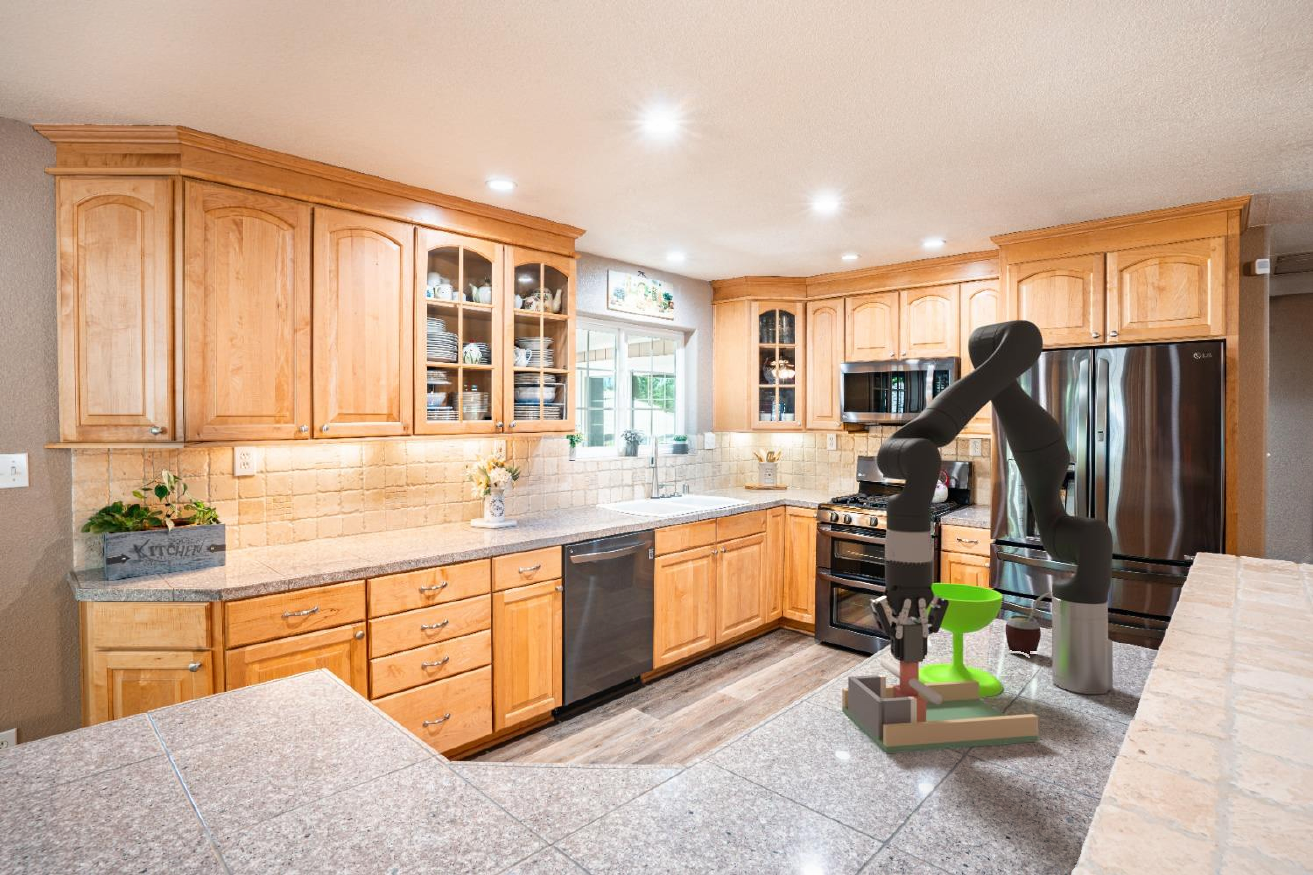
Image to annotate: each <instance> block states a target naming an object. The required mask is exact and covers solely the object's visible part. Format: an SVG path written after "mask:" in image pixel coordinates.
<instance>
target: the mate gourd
mask: <svg viewBox="0 0 1313 875" xmlns="http://www.w3.org/2000/svg"><path fill="white" fill-rule="evenodd" d="M1050 594H1052V591H1049V592H1047V593H1044V594H1042V595H1041V596H1038V598H1037V599H1036V600H1035V602H1034V605H1033V608H1032V610H1031V612H1030V615H1029V616H1026V615H1025V616H1024V615H1011V616H1010V617H1009V618H1008V619H1007V620H1006V622H1005V623H1006V624H1005V630H1004V632H1005V636H1006V643H1007V647H1008V651H1010V650H1012V651H1021V652H1024V653H1027V654H1030V651H1037V652H1038V647H1039V644H1040V642H1041V638H1042V637H1041V636H1042V633H1041V632H1042V631H1041V626H1040V623H1039V622H1038V621H1037V619H1035V618H1034V614H1035V613H1036V610H1037V608H1038V606H1039V605H1040V603H1041V600H1043V599H1044V598H1046V597H1047V596H1049V595H1050Z"/></svg>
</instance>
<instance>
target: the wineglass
mask: <svg viewBox="0 0 1313 875" xmlns="http://www.w3.org/2000/svg"><path fill="white" fill-rule="evenodd" d="M931 588H932V591H933V593H934V596H939V597H942V598H944V599H946V600H948V601H949V605H948V607H947V610H946V613H945V615H944V618H943V621H942V623H941V626H940V628H941V629H943V630H944V631H948V632H951V633H952V662H951V663H936V664H928V665H925V666H923V667H920V668H919V681H920V682H922V683H923V684H925V683H941V682H957V681H974V680H976V681H977V682H979V698H985V697H986V696H989V697H993V696H997V695H998V693H999V694H1001V693H1002V692H1003V690H1004V687H1003V684H1002V682H1001V681H1000V679H998V678H997V677H996V676H995V675H993V674H990V672H986V671H984V670H982V669H979V668H976V667H971V666H967V665H965V664H964V634H968V633H970V634H971V633H975V632H978V631H980V630H983V629H984V628H986V627H989V625H990V624H992V623H993V621H994V620H995V619H997V617H998V614H999V612H1000V611H1001V608H1002V604H1003V603H1002V602H1003V595H1002V593H1000V592H999V591H997V590H994V589H991V588H987V587H983V586H977V585H971V584H965V583H964V584H963V583H951V582H935V583H934V582H933V584H932V586H931ZM930 609H931V604H930V605H929V607H928V608H927V610H926V612H927V617H928V614H929V612H930ZM1002 689H1003V690H1002ZM1001 691H1002V692H1001ZM1000 692H1001V693H1000ZM982 696H983V697H982ZM986 698H987V697H986Z"/></svg>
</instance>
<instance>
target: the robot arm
mask: <svg viewBox="0 0 1313 875" xmlns="http://www.w3.org/2000/svg"><path fill="white" fill-rule="evenodd" d="M967 345H968V346H967V347H968V348H967V351H968V355H969V356H968V357H969V359H970V363H971V365H972V366H973V369H974V370H973V371H970V372H969V373H968V374H966V375H965V376H963V377H961V378H960V379H958V380H956V381H955V382H953V383H952V384H950V385H948V386H947V387H946V388H944V389H942V391H941V392H939V393H938V394H937V395H936V396H935V397H934V398H933V399H932V400H931V401H930V402H929V403H928V404H927V405H926V406H925V408H924V409H923V410H922V411H921V412H920V413H919V415H918V416H916V417H915V418H914V419H912V420H911V421H910V422H907V423H906V424H905V425H903V426H901V427H900V428H898V429H897V430H896V431H895V432H893V433H892V434H891V435H890V436H888V437H887V438H886V439H885V440H884V441H883V443H882V444H881V445H880V447H879V450H878V452H877V454H876V465H877V468H878V470H879V471H880V473H881V474H882V475H884V476H885V477H887V478H889V479H893V480H902V481H903V480H904V486H903V489H902V492H901V493H897V494H893V495H890V496H889V497H888V498H887V500H886V532H885V541H884V582H885V589H884V592H883V593H882V594H883V595H882V596H880V597H878V598H876V599H874V598H870V599H869V601H868V606H869V608H870V610H871V613H872V615H873V617H874V620H875V622H876V625H877V628H878V630H879V632H881V633H884V634H885V635H887V636H889V637H890V655H892V656H893V658H894V659H895V660H897V661H899V662H900V661H902V660H903V659H904V651H903V639H902V636H903V630H904V626H905V625H906V623H907V621H908V619H911V621H912V620H913V621H914V622H917V623H919V624H920V625H922V626H923V660H925V658H926V656H927V655H928V653H929V652H928V637H929V636H930V635H931V634H937V633H939V631H940V626H941V623H942V621H943V618H944V615H945V613H946V610H947V607H948V605H949V601H948V600H946V599H944V598H942V597H939V596H934V593H933V591H932V588H931V586H932V584H933V583H934V580H933V579H934V574H933V573H934V572H933V571H934V570H933V564H934V563H933V562H934V561H933V560H934V558H933V554H934V553H933V552H934V551H933V550H934V548H933V546H934V545H933V538H932V531H931V530H932V524H931V523H932V520H931V519H932V516H931V514H932V508H931V507H932V503H933V501H934V500H933V499H934V497H935V493H936V489H937V485H938V484H939V479H940V475H941V470H942V465H943V464H942V455H941V453H940V450H939V448H944V447H947V446H948V445H950V444H951V443H952V442H953V441H954V440H955V439H957V436H959V434H960V433H961V432H962V431H963V430H964V429H965V428H966V426H967V425H968V424H969V423H970V422H971V420H972V419H973V418H974V417H975V416H976V414H978V413H979V412H980V410H982V409H983V408H984V407H985V406H986V405H987V404H989V403H990V402H991V403H992V405H993V406H992V407H993V409H994V411H995V413H996V415H997V418H998V420H999V422H1000V425H1001V427H1002V430H1003V432H1004V434H1005V437H1006V440H1007V443H1008V447H1009V450H1010V452H1011V454H1012V457H1013V459H1014V462H1015V464H1016V466H1017V468H1018V471H1019V474H1020V475H1021V478H1022V481H1023V484H1024V487H1025V490H1026V492H1027V495H1028V498H1029V502H1030V505H1031V508H1032V512H1033V515H1034V519H1035V523H1036V526H1037V531H1038V534H1039V538H1040V542H1041V544H1042V547H1043V549H1044V551H1045V552H1046V554H1047V555H1048V556H1049V557H1051V558H1052V559H1054V560H1057V561H1061V562H1066V563H1071V564H1077V566H1076V572H1075V575H1073V576H1072V577H1068V578H1061V579H1056V580H1055V581H1053V582H1052V585H1051V627H1052V628H1051V645H1052V648H1051V654H1052V655H1051V659H1052V661H1051V665H1052V666H1051V667H1052V670H1051V671H1052V672H1051V674H1052V675H1051V676H1052V680H1051V681H1053V682H1054V683H1055V684H1056V685H1055V684H1054V683H1053V682H1052V683H1053V684H1054V685H1055V686H1057V685H1058V686H1059V688H1060V689H1064V690H1066V689H1067V691H1069V692H1073V693H1079V694H1085V695H1103V694H1106V693H1108V692H1109V691H1113V690H1114V687H1113V686H1114V685H1113V684H1114V678H1113V673H1114V672H1113V671H1114V670H1113V668H1114V667H1113V661H1114V660H1113V659H1114V658H1113V657H1114V654H1113V649H1114V648H1113V645H1114V644H1113V643H1114V642H1113V640H1111V639H1110V638H1109V622H1108V621H1109V619H1108V618H1109V616H1108V615H1109V614H1108V613H1109V611H1108V609H1109V607H1108V606H1109V605H1108V603H1109V602H1108V601H1109V600H1108V598H1109V597H1108V596H1109V591H1110V588H1111V582H1112V570H1113V569H1112V568H1113V564H1112V563H1113V552H1114V542H1113V541H1114V540H1113V534H1112V531H1111V528H1110V526H1109V524H1108V523H1107V522H1106V521H1104V520H1102V519H1101V518H1100V519H1099V518H1095V517H1094V518H1093V517H1087V516H1085V517H1084V516H1076V515H1070V514H1069V513H1067V511H1066V508H1065V507H1064V503H1063V500H1062V497H1061V490H1062V486H1063V484H1064V481H1065V478H1066V475H1067V474H1068V470H1069V467H1070V464H1071V453H1070V450H1069V447H1068V444H1067V441H1066V439H1065V436H1064V433H1063V430H1062V428H1061V426H1060V424H1059V423H1058V422H1057V420H1056V418H1054V417H1053V416H1052V415H1051V413H1050V412H1048V411H1047V410H1046V409H1045V408H1044V407H1043V406H1042V405H1040V404H1039V403H1038V402H1037V401H1036V400H1035V399H1033V398H1032V397H1031V396H1030V395H1029V394H1028V393H1027V392H1026V391H1025V390H1024V388H1022V386H1021V385H1020V383H1019V381H1018V378H1019V377H1021V376H1022V375H1023V374H1024V373H1026V372H1027V371H1028V370H1030V369H1031V368H1032V367H1033V366H1034V365H1035V364H1036V363H1037V361H1039V359H1040V357H1041V355H1042V351H1043V348H1044V341H1043V336H1042V333H1041V330H1040V329H1039V327H1038V326H1037V325H1036V324H1035V323H1033V322H1032V321H1029V320H1024V319H1015V320H1010V321H1003V322H999V323H993V324H989V325H983V326H980V327H977V328H976V329H974V330H973V331H972V332H971V334H970V336H969V338H968V344H967ZM930 604H931V609H930V612H929V614H928V617H927V612H926V610H927V608H928V607H929V605H930ZM887 605H888V607H889V608H890V611H889V612H890V613H889V619H888V616H887V613H886V611H887ZM889 620H890V621H889ZM1058 686H1057V687H1058ZM1112 689H1113V690H1112Z"/></svg>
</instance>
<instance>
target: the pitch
mask: <svg viewBox="0 0 1313 875" xmlns="http://www.w3.org/2000/svg"><path fill="white" fill-rule="evenodd" d="M847 680H848V682H847V683H848V686H847V688H845V687H844V688H842V689H841V694H842V695H841V697H842V699H841V702H842V704H841V705H842V706H841V707H842V708H841V709H842V710H841V711H842V712H843V713H844V715H846V716H847V717H848V718H849V719H850V720H851V721H852V722H853V723H854V724H855V725H857V727H858V728H859V729H861V730H862V732H864V734H866V736H868V737H869V738H870V739H871V740H872V741H873V742H874V743H875V744H876V745H877V746H878V747H879V748H880V749H882V751H883V752H884V753H885V754H892V753H894V754H895V753H906V752H919V751H933V750H944V749H945V750H946V749H959V748H971V747H982V746H983V747H985V746H997V745H999V746H1000V745H1009V744H1020V743H1022V744H1023V743H1035V742H1036V743H1037V742H1039V716H1038V715H1036V714H1035V713H1029V714H1016V715H1015V714H1013V715H1006V714H1004V713H1003V712H1001V711H1000V710H998V709H996V708H995V707H993V706H992V705H990V704H988V703H987V702H985V701H983V700H982V699H981V698H980V697H979V682H977V681H976V680H974V681H957V682H941V683H925V685H926V686H928V687H929V688H931V689H932V690H934V691H935V692H937V693H938V694H940V695H941V696H942V698H943V700H942V703H941V704H939V705H936V704H935V703H933V702H932V701H930V700H929V699H927V698H926V697H925V696H923V695H922V694H920V693H919V696H920V697H922V698H923V699H925V700H926V722H917V699H916V698H914V697H901V698H893V685H887V676H886V675H884V674H872V675H853V676H848V677H847Z"/></svg>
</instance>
